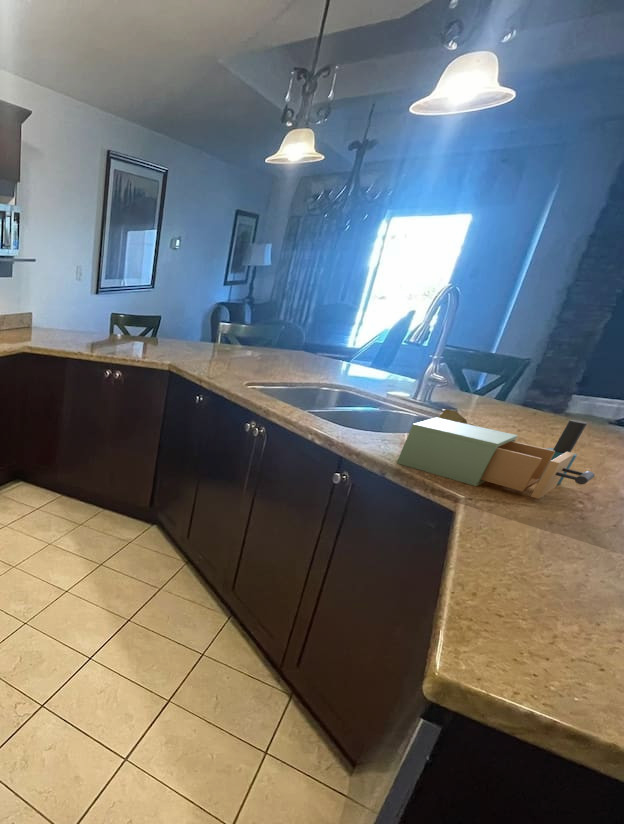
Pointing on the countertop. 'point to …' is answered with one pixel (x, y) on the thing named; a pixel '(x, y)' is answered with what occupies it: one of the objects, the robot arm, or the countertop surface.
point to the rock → (452, 416)
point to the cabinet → (452, 449)
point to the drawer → (530, 468)
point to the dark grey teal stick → (568, 441)
